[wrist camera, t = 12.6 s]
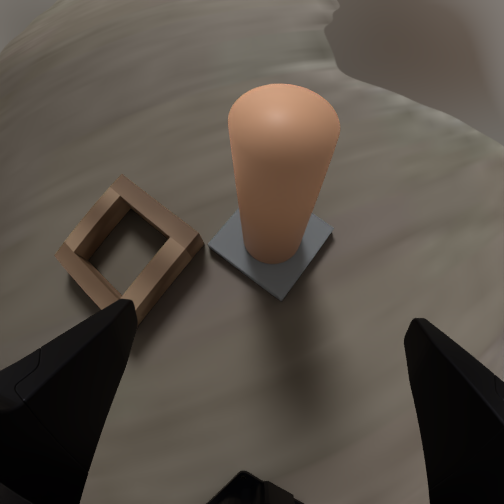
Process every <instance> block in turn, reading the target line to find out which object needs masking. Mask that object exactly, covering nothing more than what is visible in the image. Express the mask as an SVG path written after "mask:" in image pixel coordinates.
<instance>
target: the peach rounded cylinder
mask: <svg viewBox="0 0 504 504" xmlns="http://www.w3.org/2000/svg"><path fill="white" fill-rule="evenodd" d="M228 128H229V135H230V143H231V151H232V159H233V166H234V174H235V181H236V189H237V197H238V204H239V212H240V219H241V227H242V234H243V241H244V245H245V247H246V249H247V251H248V252H249V254H250V255H251V256H252V257H254V258H255V259H256V260H258V261H260V262H263V263H267V264H278V263H282V262H285V261H287V260H288V259H290V258H291V257H292V256H293V255H294V254H295V253H296V251H297V250H298V248H299V245H300V243H301V240H302V238H303V235H304V232H305V230H306V227H307V224H308V222H309V219H310V216H311V214H312V211H313V208H314V206H315V203H316V200H317V197H318V195H319V192H320V189H321V186H322V184H323V181H324V178H325V175H326V172H327V170H328V167H329V164H330V161H331V158H332V155H333V152H334V150H335V147H336V144H337V141H338V138H339V134H340V122H339V119H338V116H337V114H336V112H335V110H334V109H333V107H332V106H331V105H330V104H329V103H328V102H327V101H326V100H325V99H324V98H323V97H321V96H320V95H318V94H317V93H315V92H313V91H311V90H308V89H306V88H303V87H300V86H296V85H290V84H270V85H264V86H260V87H257V88H254V89H252V90H250V91H248V92H246V93H245V94H243V95H242V96H241V97H239V98H238V99H237V100H236V102H235V103H234V104H233V106H232V108H231V110H230V112H229V116H228Z"/></svg>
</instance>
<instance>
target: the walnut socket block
mask: <svg viewBox="0 0 504 504" xmlns="http://www.w3.org/2000/svg"><path fill="white" fill-rule="evenodd" d="M130 209H132V210H134V211H135V212H136V213H137V214H138V215H139V216H141V217H142V218H143V219H144V220H146V221H147V222H148V223H149V224H150V225H152V226H153V227H154V228H155V229H156V230H158V231H159V232H160V233H161V234H163V235H164V236H165V237H166V238H168V240H167V241H166V243H165V244H164V245H163V246H162V247H161V249H160V250H159V251H158V252H157V253H156V255H155V256H154V257H153V258H152V259H151V261H150V262H149V263H148V264H147V266H146V267H145V268H144V269H143V271H142V272H141V273H140V274H139V276H138V277H137V278H136V279H135V281H134V282H133V283H132V284H131V286H130V287H129V288H128V289H127V291H126V292H125V293H124V295H123V296H122V295H121V294H120V293H119V292H118V291H117V290H116V289H115V288H114V287H113V286H112V285H111V284H110V283H109V282H108V281H107V280H106V279H105V278H104V277H103V276H102V275H101V274H100V273H99V272H98V270H97V269H96V268H95V267H94V266H93V265H92V264H91V263H90V262H89V261H88V260H89V259H90V257H91V256H92V255H93V254H94V252H95V251H96V250H97V248H98V247H99V246H100V245H101V243H102V242H103V241H104V240H105V238H106V237H107V236H108V235H109V234H110V232H111V231H112V230H113V229H114V228H115V226H116V225H117V224H118V223H119V222H120V220H121V219H122V218H123V217H124V216H125V215H126V213H127V212H128V211H129V210H130ZM203 245H204V242H203V240H202V238H201V236H200V234H199V233H198V232H197V231H196V230H194V229H193V228H192V227H190V226H189V225H188V224H186V223H185V222H184V221H183V220H181V219H180V218H179V217H177V216H176V215H175V214H173V213H172V212H171V211H169V210H168V209H167V208H165V207H164V206H163V205H162V204H160V203H159V202H158V201H156V200H155V199H154V198H152V197H151V196H150V195H149V194H147V193H146V192H145V191H143V190H142V189H141V188H139V187H138V186H137V185H136V184H134V183H133V182H132V181H130V180H129V179H128V178H127V177H125V176H124V175H123V174H121V175H120V176H119V177H118V178H117V179H116V181H115V182H114V183H113V184H112V185H111V186H110V187H109V188H108V189H107V191H106V192H105V193H104V194H103V195H102V196H101V197H100V198H99V200H98V201H97V202H96V203H95V204H94V205H93V207H92V208H91V209H90V210H89V211H88V213H87V214H86V215H85V216H84V218H83V219H82V220H81V221H80V222H79V224H78V225H77V226H76V227H75V229H74V230H73V231H72V233H71V234H70V235H69V236H68V238H67V239H66V240H65V242H64V243H63V244H62V246H61V247H60V248H59V250H58V251H57V252H56V254H55V255H54V256H55V257H56V258H57V259H58V261H59V262H60V263H61V264H62V266H63V267H64V268H65V269H66V270H67V272H68V273H69V274H70V275H71V276H72V277H73V279H74V280H75V281H76V282H77V283H78V284H79V286H80V287H81V288H82V289H83V290H84V291H85V292H86V293H87V295H88V296H89V297H90V298H91V299H92V300H93V301H94V302H95V303H96V304H97V305H98V306H99V308H100V309H101V310H102V309H104V308H105V307H107V306H109V305H110V304H112V303H114V302H115V301H117V300H119V299H130V300H132V301H133V302H134V306H135V310H136V315H137V319H138V325H139V324H140V323H141V322H142V320H143V319H144V318H145V317H146V315H147V314H148V313H149V311H150V310H151V309H152V308H153V306H154V305H155V304H156V303H157V301H158V300H159V299H160V298H161V296H162V295H163V294H164V293H165V291H166V290H167V289H168V288H169V286H170V285H171V284H172V283H173V281H174V280H175V279H176V278H177V277H178V275H179V274H180V273H181V272H182V270H183V269H184V268H185V267H186V266H187V264H188V263H189V262H190V261H191V259H192V258H193V257H194V256H195V255H196V253H197V252H198V251H199V250H200V249H201V247H202V246H203ZM138 325H137V327H138Z"/></svg>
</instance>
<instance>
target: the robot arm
mask: <svg viewBox="0 0 504 504" xmlns="http://www.w3.org/2000/svg"><path fill="white" fill-rule="evenodd" d="M137 325H138V319H137V315H136V310H135V306H134V302H133V301H132V300H130V299H119V300H117V301H115V302H114V303H112V304H110V305H109V306H107V307H105V308H104V309H102V310H101V311H99V312H97V313H96V314H94V315H92V316H91V317H89V318H87V319H86V320H84V321H82V322H81V323H79V324H78V325H76V326H74V327H73V328H71V329H69V330H68V331H66V332H65V333H63V334H61V335H60V336H58V337H57V338H55V339H53V340H52V341H50V342H49V343H47V344H45V345H44V346H42V347H41V348H39V349H37V350H36V351H34V352H33V353H31V354H29V355H28V356H26V357H24V358H23V359H21V360H19V361H18V362H16V363H14V364H12V365H10V366H8V367H7V368H5V369H3V370H1V371H0V504H79V503H80V500H81V496H82V493H83V489H84V486H85V482H86V479H87V476H88V472H89V469H90V466H91V462H92V459H93V456H94V453H95V450H96V447H97V444H98V441H99V438H100V435H101V432H102V429H103V426H104V424H105V421H106V418H107V415H108V412H109V410H110V407H111V404H112V402H113V399H114V396H115V394H116V391H117V388H118V386H119V383H120V380H121V378H122V375H123V373H124V370H125V367H126V365H127V361H128V358H129V354H130V351H131V347H132V343H133V340H134V336H135V333H136V329H137ZM404 347H405V353H406V360H407V367H408V374H409V381H410V386H411V390H412V395H413V399H414V404H415V408H416V413H417V418H418V423H419V428H420V434H421V439H422V445H423V451H424V458H425V464H426V472H427V479H428V488H429V499H430V504H504V382H503V381H502V380H501V379H500V378H498V377H497V376H496V375H494V373H492V372H491V371H490V370H489V369H488V368H486V367H485V366H484V365H483V364H482V363H480V362H479V361H478V360H477V359H476V358H474V357H473V356H472V355H471V354H469V353H468V352H467V351H466V350H464V349H463V348H462V347H461V346H459V345H458V344H457V343H456V342H454V341H453V340H452V339H451V338H449V337H448V336H447V335H446V334H444V333H443V332H442V331H440V330H439V329H438V328H437V327H435V326H434V325H433V324H431V323H430V322H429V321H428V320H426V319H425V318H414V319H413V320H412V321H411V323H410V326H409V328H408V330H407V332H406V335H405V338H404ZM242 475H245V476H246V478H244V479H243V478H241V477H240V476H242ZM206 504H304V503H302V502H300V501H298V500H296V499H295V498H294V497H293V495H292V494H291V493H289V492H287V491H285V490H283V489H282V488H280V487H278V486H276V485H274V484H273V483H271V482H269V481H262V480H260V479H259V478H257V477H255V476H254V475H252V474H250V473H249V472H247V471H240V472H239V473H238V474H237V475H236V476H235V477H234V478H233V479H232V480H231V481H230V482H229V483H228V484H227V485H225V486H224V487H223V488H222V489H221V490H220V491H219V492H218V493H217V494H216V495H215V496H214V497H213V498H212V499H211V500H210V501H209V502H208V503H206Z"/></svg>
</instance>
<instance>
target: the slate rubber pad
mask: <svg viewBox="0 0 504 504" xmlns="http://www.w3.org/2000/svg"><path fill="white" fill-rule="evenodd" d="M333 229H334V228H333V227H332V226H330V225H329V224H327V223H326V222H325V221H323V220H322V219H320V218H319V217H317V216H316V215H314V214H313V213H312V214H311V216H310V219H309V222H308V224H307V227H306V230H305V232H304V235H303V238H302V240H301V243H300V245H299V248H298V250H297V251H296V253H295V254H294V255H293V256H292V257H291V258H290V259H288V260H287V261H285V262H282V263H278V264H267V263H263V262H260V261H258V260H256V259H255V258H254V257H252V256H251V255H250V254H249V252H248V251H247V249H246V247H245V245H244V241H243V234H242V227H241V219H240V212H239V208H238V209H237V210H236V211H235V213H234V214H233V215H232V216H231V217H230V218H229V220H228V221H227V222H226V223H225V224H224V225H223V227H222V228H221V229H220V230H219V231H218V233H217V234H216V235H215V236H214V237H213V238H212V240H211V241H210V242H209V243H208V246H209V248H210V249H212V250H213V251H214V252H216V253H217V254H218V255H220V256H221V257H222V258H224V259H225V260H226V261H228V262H229V263H230V264H232V265H233V266H234V267H236V268H237V269H238V270H240V271H241V272H242V273H244V274H245V275H246V276H248V277H249V278H250V279H252V280H253V281H254V282H256V283H257V284H258V285H260V286H261V287H262V288H264V289H265V290H266V291H268V292H269V293H270V294H272V295H273V296H275V297H276V298H277V299H279V300H280V301H282V300H283V299H284V297H285V296H286V295H287V293H288V292H289V290H290V289H291V288H292V286H293V285H294V284H295V282H296V281H297V280H298V278H299V277H300V276H301V274H302V273H303V271H304V270H305V269H306V267H307V266H308V265H309V263H310V262H311V260H312V259H313V258H314V256H315V255H316V253H317V252H318V251H319V249H320V248H321V246H322V245H323V244H324V242H325V241H326V239H327V238H328V236H329V235H330V234H331V232H332V231H333Z"/></svg>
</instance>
